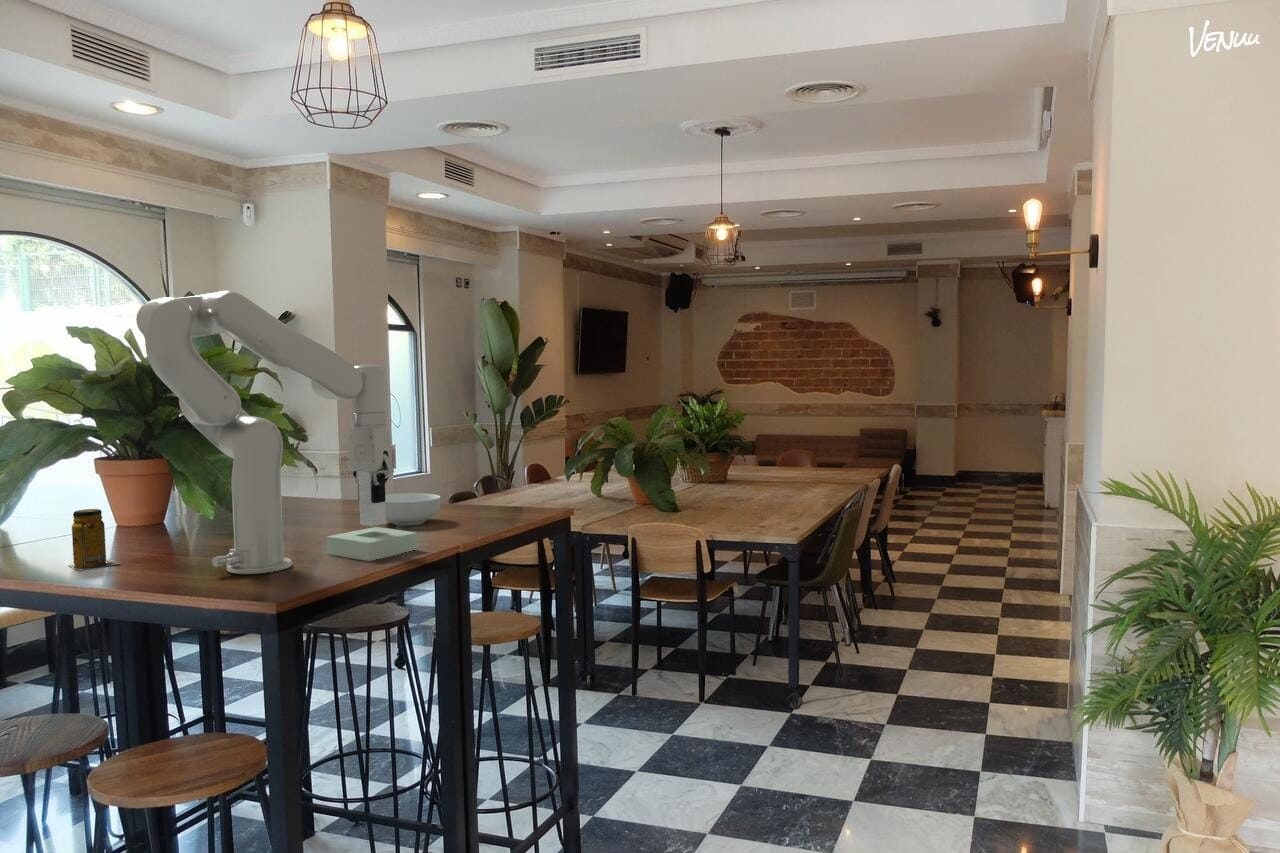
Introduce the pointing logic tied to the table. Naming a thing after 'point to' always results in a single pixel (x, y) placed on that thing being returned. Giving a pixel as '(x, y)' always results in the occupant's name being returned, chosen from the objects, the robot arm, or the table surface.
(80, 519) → the condiment
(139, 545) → the table surface
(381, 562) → the table surface
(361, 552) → the green square socket block
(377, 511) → the white rectangular block
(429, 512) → the cereal bowl
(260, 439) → the robot arm
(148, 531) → the table surface
